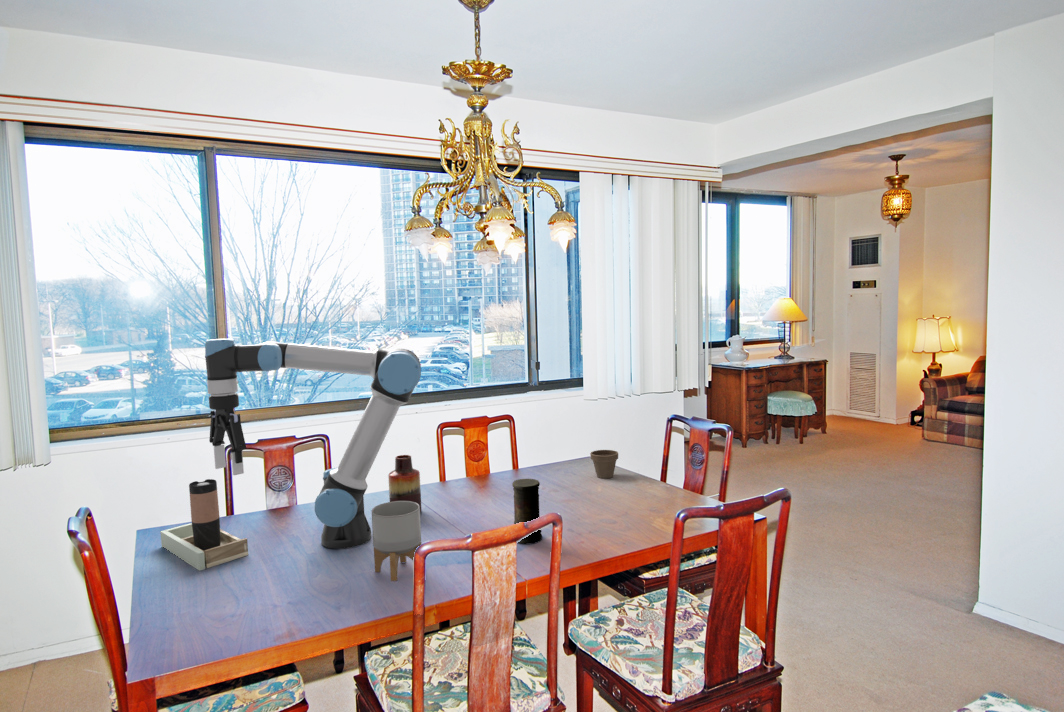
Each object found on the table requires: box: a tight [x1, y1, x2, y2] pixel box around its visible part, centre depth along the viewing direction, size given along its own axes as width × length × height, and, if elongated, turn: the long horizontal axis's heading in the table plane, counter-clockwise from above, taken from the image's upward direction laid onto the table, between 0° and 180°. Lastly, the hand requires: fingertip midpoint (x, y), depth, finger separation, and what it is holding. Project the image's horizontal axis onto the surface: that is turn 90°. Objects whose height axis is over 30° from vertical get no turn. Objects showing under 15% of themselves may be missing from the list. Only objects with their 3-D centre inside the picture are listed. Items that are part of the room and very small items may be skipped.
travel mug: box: [188, 478, 221, 551], centre depth 197 cm, size 8×8×20 cm
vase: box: [387, 454, 422, 515], centre depth 226 cm, size 11×11×20 cm
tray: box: [182, 528, 249, 569], centre depth 196 cm, size 20×12×5 cm, turn 49°
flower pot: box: [590, 449, 619, 479], centre depth 265 cm, size 12×11×10 cm
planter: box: [371, 501, 422, 582], centre depth 178 cm, size 13×13×18 cm
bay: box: [159, 522, 206, 572], centre depth 198 cm, size 29×15×5 cm, turn 49°
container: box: [511, 478, 543, 545], centre depth 199 cm, size 9×9×18 cm
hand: (229, 471), depth 183 cm, fingers open, 11 cm apart
